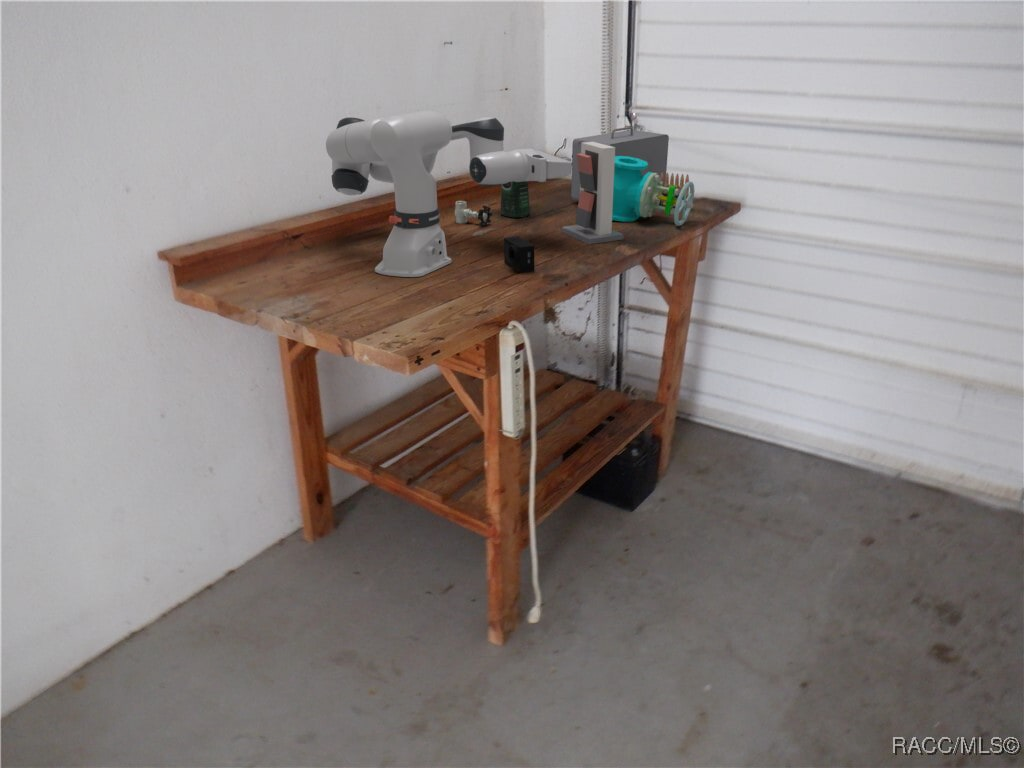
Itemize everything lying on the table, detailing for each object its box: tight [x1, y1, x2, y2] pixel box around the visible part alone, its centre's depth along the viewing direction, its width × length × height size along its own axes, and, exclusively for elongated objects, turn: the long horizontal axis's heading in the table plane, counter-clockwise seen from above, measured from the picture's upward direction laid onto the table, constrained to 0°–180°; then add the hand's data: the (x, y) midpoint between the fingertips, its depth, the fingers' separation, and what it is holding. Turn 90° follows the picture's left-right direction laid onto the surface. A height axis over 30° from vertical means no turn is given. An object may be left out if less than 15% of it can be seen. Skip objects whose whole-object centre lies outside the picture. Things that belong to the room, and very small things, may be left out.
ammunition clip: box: [659, 171, 690, 212], centre depth 275 cm, size 11×2×12 cm, turn 60°
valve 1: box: [454, 200, 493, 227], centre depth 260 cm, size 7×7×12 cm
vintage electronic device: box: [570, 126, 670, 202], centre depth 285 cm, size 32×18×25 cm, turn 133°
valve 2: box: [612, 156, 695, 227], centre depth 259 cm, size 14×18×30 cm
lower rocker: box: [574, 190, 595, 228], centre depth 242 cm, size 1×6×10 cm, turn 27°
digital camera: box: [503, 236, 535, 274], centre depth 217 cm, size 10×5×7 cm, turn 24°
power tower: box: [561, 142, 624, 245], centre depth 241 cm, size 12×16×27 cm
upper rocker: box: [577, 153, 595, 191], centre depth 237 cm, size 1×6×10 cm, turn 26°
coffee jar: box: [500, 181, 531, 219], centre depth 267 cm, size 10×8×19 cm
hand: (568, 160), depth 235 cm, fingers closed
